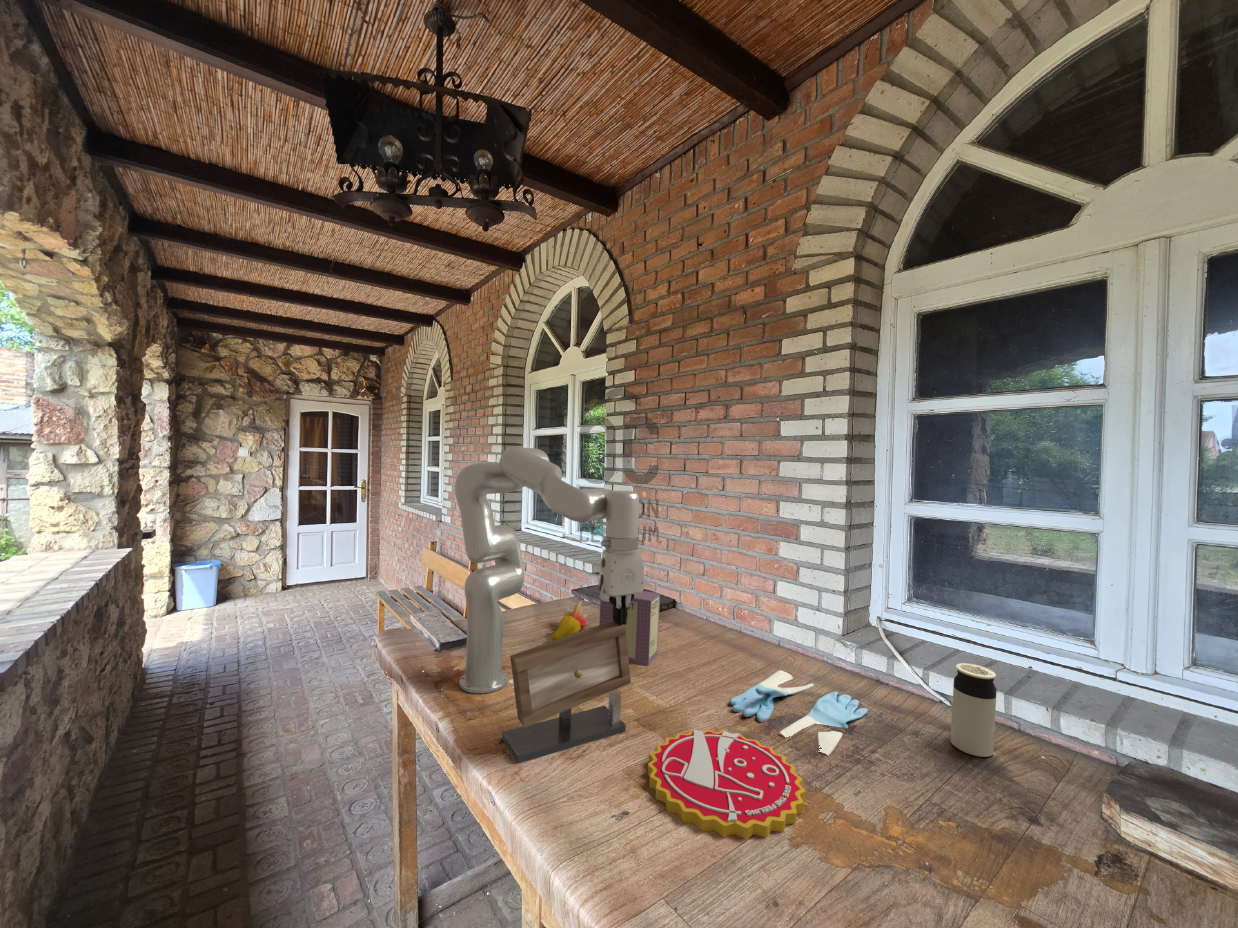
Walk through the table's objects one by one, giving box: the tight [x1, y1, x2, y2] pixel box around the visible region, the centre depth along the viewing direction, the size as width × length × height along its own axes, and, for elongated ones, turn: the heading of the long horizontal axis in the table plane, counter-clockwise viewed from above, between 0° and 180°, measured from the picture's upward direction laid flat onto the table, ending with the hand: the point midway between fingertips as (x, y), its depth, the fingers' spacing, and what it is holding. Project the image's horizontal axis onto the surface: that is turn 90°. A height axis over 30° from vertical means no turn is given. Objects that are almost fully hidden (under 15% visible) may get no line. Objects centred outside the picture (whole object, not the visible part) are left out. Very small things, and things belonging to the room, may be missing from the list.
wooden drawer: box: [509, 621, 632, 728], centre depth 110 cm, size 5×26×14 cm, turn 121°
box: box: [598, 590, 661, 667], centre depth 160 cm, size 17×9×20 cm, turn 68°
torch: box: [552, 600, 590, 641], centre depth 175 cm, size 8×8×25 cm
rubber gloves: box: [729, 669, 869, 757], centre depth 130 cm, size 27×33×6 cm
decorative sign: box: [647, 729, 806, 840], centre depth 100 cm, size 30×3×30 cm
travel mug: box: [950, 662, 998, 758], centre depth 115 cm, size 8×8×18 cm
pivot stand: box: [501, 688, 627, 764], centre depth 113 cm, size 10×26×16 cm, turn 121°
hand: (620, 623), depth 116 cm, fingers closed
